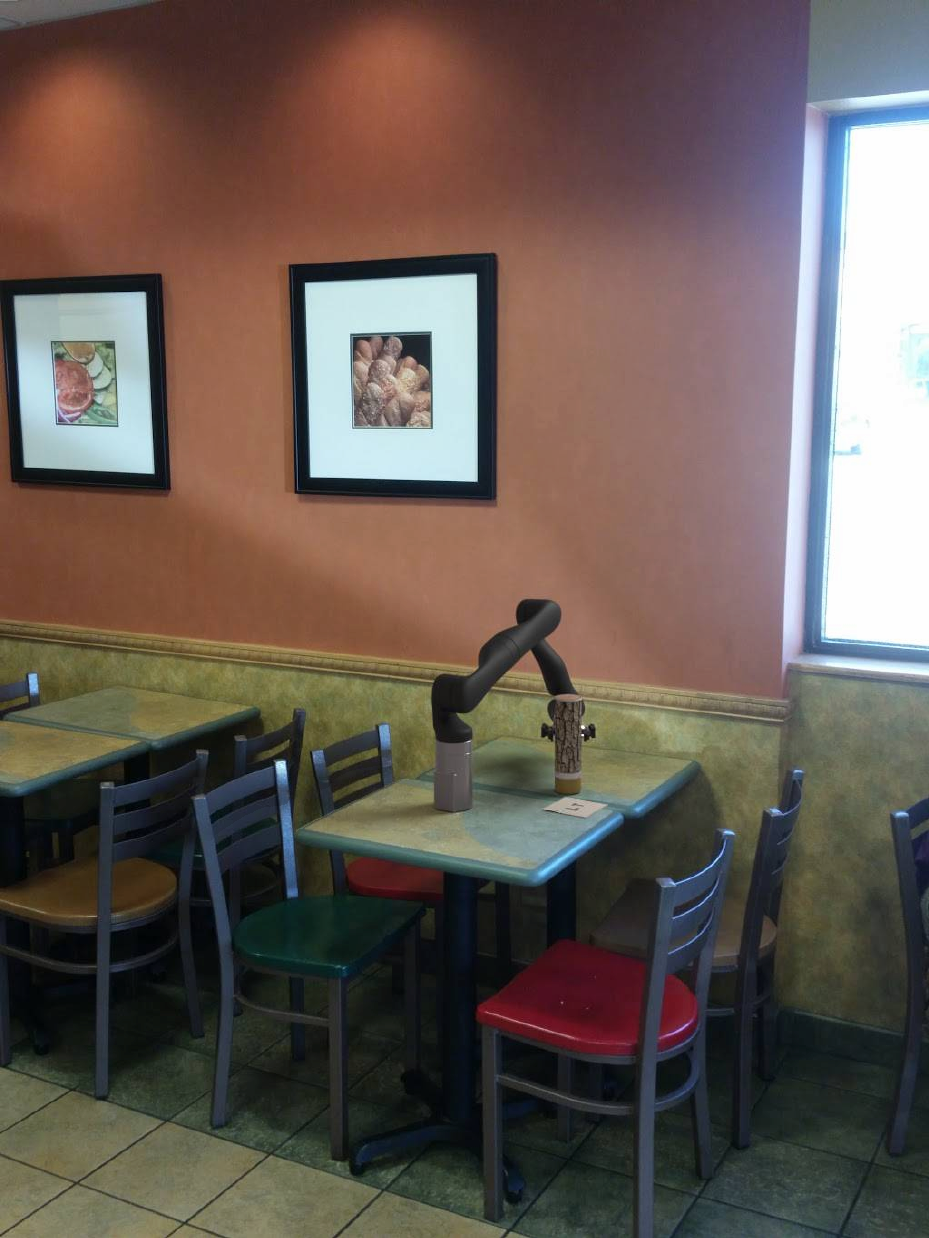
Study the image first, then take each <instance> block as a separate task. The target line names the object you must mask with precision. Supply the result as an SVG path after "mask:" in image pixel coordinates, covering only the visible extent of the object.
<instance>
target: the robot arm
mask: <svg viewBox="0 0 929 1238" xmlns="http://www.w3.org/2000/svg"><path fill="white" fill-rule="evenodd" d="M562 613H563V612H562V609H561V607H560V605H559V603H558V602H557V601H554V600H552V599H549V598H548V599H545V598H524V599H521V601H519V602H518V604H517V607H516V609H515V619H516V624H517V625H514V626H511V627H510V626H509V627H508V628H506V629H502V630H501V631H499V632H497V633H496V634H494V635H493V636H492V637H490V638H489V639H488V640H487V641H486V642H485V643H484V644H483V645H482V647H481V648H480V649H479V653H478V660H477V661H478V668H477V669H476V670H475V671H473V672H472V673H471V674H468V675H461V674H460V675H459V674H451V673H441V674H438V675H437V676H436V677H435V679H434V680H433V682H432V686H431V692H430V695H431V696H430V700H431V702H430V704H431V717H432V729H433V732H434V735H435V741H434V744H435V749H434V750H435V751H434V752H435V754H434V755H435V761H434V762H435V763H434V764H435V770H434V771H433V809H436V810H440V811H441V810H442V811H445V812H446V811H447V812H451V813H456V812H459V811H460V812H461V811H466V810H470V809H472V808H473V805H474V804H473V803H474V802H473V801H474V799H473V797H474V792H473V791H474V790H473V789H474V788H473V787H474V785H473V778H474V776H473V769H474V768H473V766H474V765H473V764H474V763H473V756H474V754H473V753H474V750H473V749H474V748H473V746H474V745H473V743H474V742H473V738H474V736H473V729H472V727H471V726H470V724H468V723H466V722H465V721H464V720H462V719H461V718H460V716H459V715H458V714H461V715H462V714H469V713H471V712H473V711H474V710H475V709H476V708H477V707H478V706H479V704H480V703H481V702H482V701H483V699H484V698H485V697H486V695H488V693H489V691H491V689H492V688H493V687H494V686H495V685H496V684H497V683H498V681H500V679H501V678H502V677H504V675H506V673H507V672H509V671H510V670H512V669H513V667H514V666H515V665H516V664H517V663H519V661H520V660H521V659H522V658H523V657H524V656H526V654H527V653H529V652H530V651H531V653H532V655H533V657H534V659H535V661H536V663H537V665H538V667H539V669H540V672H541V674H542V675H541V676H542V678H543V681H544V682H543V683H544V684H545V687H546V691H547V692H548V694H549V695H550V696H552V697H555V696H557V695H561V694H575V695H579V696H581V695H580V694H579V693H578V691H577V690H576V688H575V687H574V684H572V681H571V677H570V675H569V672H568V669H567V666H566V663H565V661H564V659H563V658H562V657H561V656H560V655H559V653H558V652H557V651H556V650H554V648H553V647H552V646H551V645H550V644H549V643H548V642H547V640H546V638H548V637H549V636H550V635H551V634H553V633H554V632H555V631H556V629H557V628H558V627H559V625H560V624H561V620H562V616H563V615H562ZM546 711H547V714H548V717H549V719H550V720H551V722H552V723H553V724H552V725H549V724H547V723H546V722H543V723H541V727H540V738H541V739H542V738H543V739H545V738H547V739H548V741H549V740H550V742H554V739H555V698H553V699H551V700H550V701H549V702H548V703H547V709H546ZM585 712H586V704H585V702H584V700H583V699H582V717H583V716H584V715H585ZM596 735H597V728H596V726H595V723H592V722H591V723H589V724H588V725H587V726H584V724H582V739H583V742H584V743H587V742H588V741H589V740H590V738H591V739H597V736H596Z"/></svg>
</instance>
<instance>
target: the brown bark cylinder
mask: <svg viewBox="0 0 929 1238" xmlns="http://www.w3.org/2000/svg"><path fill="white" fill-rule="evenodd" d="M579 695H580V694H579ZM579 695H575V694H561V695H557V696H554V697H555V698H554V699H555V738H554V791H556V793H558V794H561V795H577V794H578V793H580V792H581V791H582V741H583V738H582V725H583V723H582V721H583V719H582V718H583V716H582V700H583V698H582V696H581V695H580V696H579Z"/></svg>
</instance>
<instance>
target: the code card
mask: <svg viewBox="0 0 929 1238" xmlns="http://www.w3.org/2000/svg"><path fill="white" fill-rule="evenodd" d="M608 806H609V805H608V804H607V803H601V802H594V801H589V800H584V799H578V798H573V797H569V796H565V797H563V798H561V799H559V800H557V801H555V802H553V803H551V804H549V805H548V806H546V807H544V808H542V809H541V810H542V811H545V810H553V811H556V810H558V811H556V812H558V813H557V814H560V813H562V815H567V816H572V817H577V818H583V819H587V818H588V817H590V816H592V815H594V814H596V813H597V812H599V811H600V810H602V809H605V808H606V807H608ZM563 810H564V811H563Z"/></svg>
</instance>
